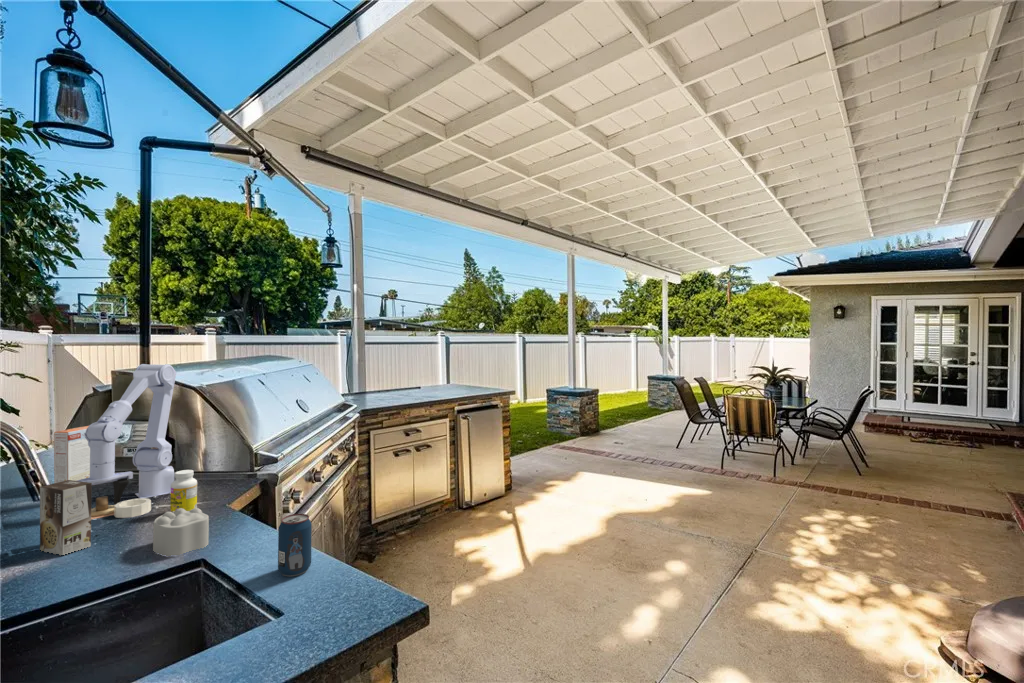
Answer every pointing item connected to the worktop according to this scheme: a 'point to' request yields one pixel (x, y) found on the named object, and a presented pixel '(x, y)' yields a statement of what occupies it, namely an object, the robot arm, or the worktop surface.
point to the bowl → (132, 508)
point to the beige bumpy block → (180, 532)
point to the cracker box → (71, 455)
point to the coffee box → (65, 517)
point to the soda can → (294, 544)
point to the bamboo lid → (102, 507)
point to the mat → (101, 516)
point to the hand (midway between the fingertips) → (101, 507)
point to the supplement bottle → (183, 491)
